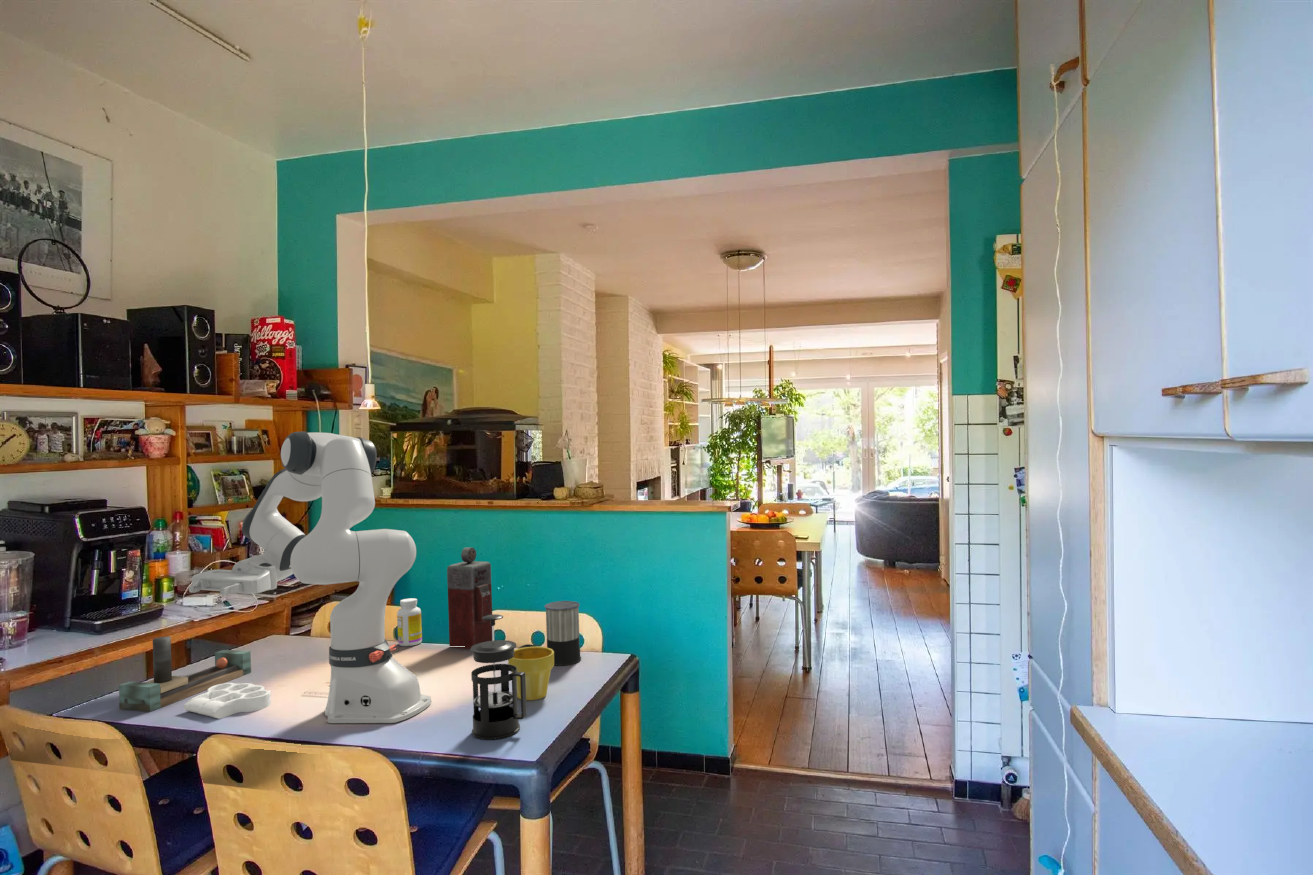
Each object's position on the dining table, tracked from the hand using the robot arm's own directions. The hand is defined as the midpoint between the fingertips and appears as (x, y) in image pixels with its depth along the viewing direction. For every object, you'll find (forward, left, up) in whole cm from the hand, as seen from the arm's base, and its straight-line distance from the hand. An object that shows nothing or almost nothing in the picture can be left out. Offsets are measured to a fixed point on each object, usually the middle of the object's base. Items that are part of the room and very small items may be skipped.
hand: (206, 590), depth 182 cm
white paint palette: (-20, +12, -24) cm, 33 cm away
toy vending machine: (-51, -42, -23) cm, 70 cm away
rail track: (0, +5, -23) cm, 24 cm away
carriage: (0, +12, -20) cm, 24 cm away
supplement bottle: (-31, -40, -23) cm, 55 cm away
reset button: (0, -4, -21) cm, 21 cm away
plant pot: (-86, -6, -23) cm, 89 cm away
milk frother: (-79, -30, -23) cm, 88 cm away
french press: (-88, +14, -23) cm, 92 cm away
